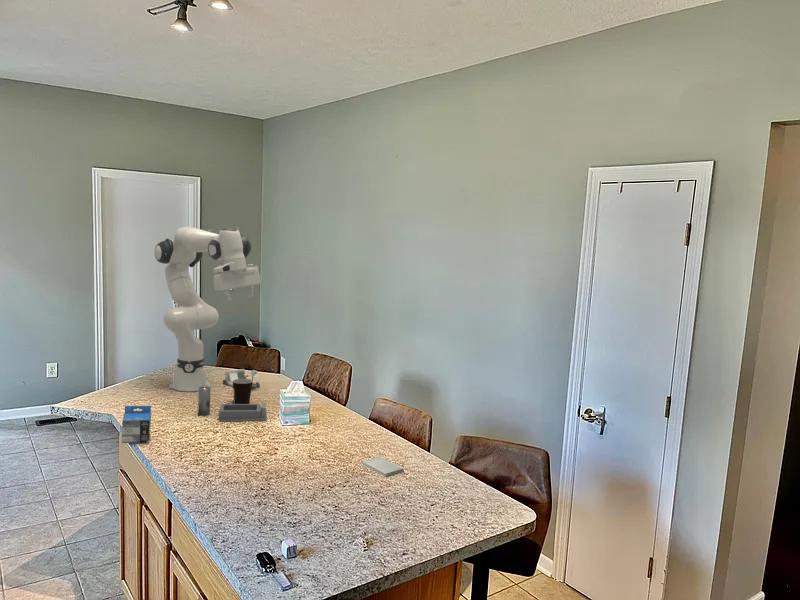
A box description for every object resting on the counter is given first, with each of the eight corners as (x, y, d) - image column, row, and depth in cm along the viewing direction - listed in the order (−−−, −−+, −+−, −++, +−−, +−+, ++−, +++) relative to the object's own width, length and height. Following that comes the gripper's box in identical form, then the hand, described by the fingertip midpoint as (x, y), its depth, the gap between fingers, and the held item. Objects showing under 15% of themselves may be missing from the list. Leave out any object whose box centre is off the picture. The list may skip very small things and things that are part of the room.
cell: (198, 412, 238) (199, 384, 236) (210, 412, 239) (211, 384, 238) (197, 416, 233) (198, 387, 232) (209, 415, 234) (210, 387, 233)
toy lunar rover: (263, 370, 278) (242, 373, 270) (262, 390, 279) (241, 393, 271) (244, 362, 290) (223, 365, 282) (243, 381, 291) (222, 384, 283)
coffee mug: (248, 406, 250) (249, 384, 249) (229, 405, 250) (229, 382, 249) (255, 399, 262) (256, 377, 261) (237, 397, 262) (238, 376, 261)
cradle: (220, 412, 240) (221, 400, 239) (266, 412, 244) (266, 400, 244) (218, 421, 228) (219, 409, 227) (266, 421, 232) (266, 409, 232)
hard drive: (404, 468, 192) (380, 456, 202) (385, 473, 187) (362, 460, 196) (403, 473, 193) (379, 460, 202) (385, 478, 187) (361, 465, 196)
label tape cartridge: (121, 443, 199) (121, 409, 198) (123, 439, 203) (124, 405, 202) (148, 442, 202) (149, 408, 200) (150, 439, 205) (151, 405, 204)
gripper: (253, 263, 251) (258, 294, 253) (209, 269, 237) (215, 302, 239) (260, 262, 247) (266, 294, 248) (216, 268, 233) (222, 302, 234)
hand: (240, 298), depth 243 cm, fingers open, 8 cm apart
